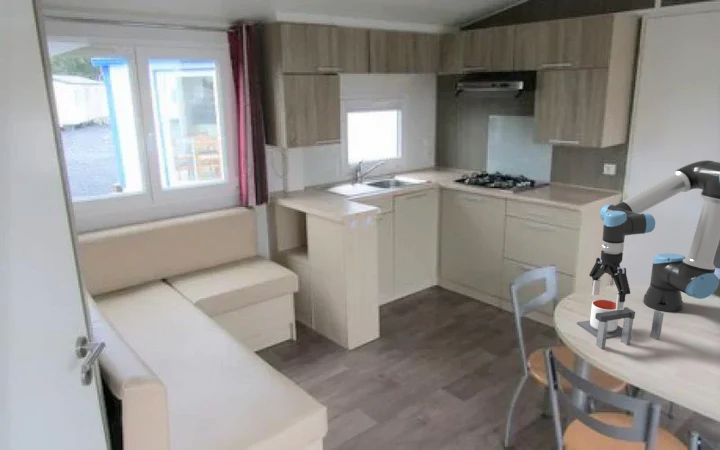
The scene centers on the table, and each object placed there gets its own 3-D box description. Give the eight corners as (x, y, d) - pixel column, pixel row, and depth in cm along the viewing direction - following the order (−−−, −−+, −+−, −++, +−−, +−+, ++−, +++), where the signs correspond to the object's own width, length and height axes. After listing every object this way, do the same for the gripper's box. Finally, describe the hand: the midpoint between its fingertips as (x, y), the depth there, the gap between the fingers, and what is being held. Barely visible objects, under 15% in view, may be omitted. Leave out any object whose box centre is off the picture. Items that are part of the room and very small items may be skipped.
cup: (619, 334, 205) (622, 310, 202) (592, 332, 207) (595, 309, 204) (613, 322, 214) (616, 300, 211) (587, 321, 216) (589, 298, 213)
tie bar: (625, 313, 199) (626, 306, 198) (634, 318, 195) (635, 311, 194) (593, 318, 195) (594, 311, 195) (601, 323, 191) (602, 316, 190)
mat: (605, 319, 219) (606, 317, 219) (630, 334, 206) (630, 333, 206) (576, 323, 216) (576, 322, 215) (599, 339, 202) (599, 338, 202)
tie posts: (653, 336, 204) (657, 310, 201) (659, 339, 201) (663, 313, 198) (596, 345, 198) (599, 318, 195) (601, 349, 195) (604, 322, 192)
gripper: (582, 242, 212) (578, 290, 218) (627, 263, 189) (621, 316, 195) (598, 240, 214) (594, 288, 220) (644, 260, 191) (638, 313, 197)
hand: (607, 301), depth 207 cm, fingers open, 13 cm apart
